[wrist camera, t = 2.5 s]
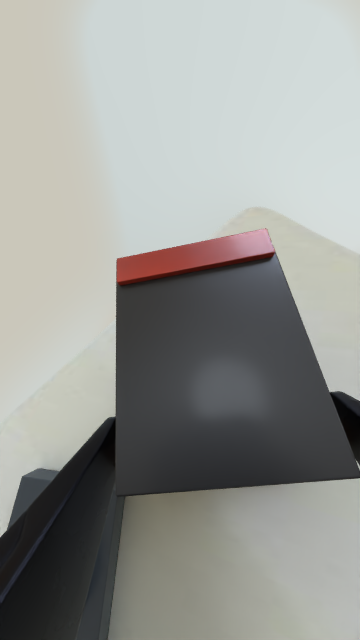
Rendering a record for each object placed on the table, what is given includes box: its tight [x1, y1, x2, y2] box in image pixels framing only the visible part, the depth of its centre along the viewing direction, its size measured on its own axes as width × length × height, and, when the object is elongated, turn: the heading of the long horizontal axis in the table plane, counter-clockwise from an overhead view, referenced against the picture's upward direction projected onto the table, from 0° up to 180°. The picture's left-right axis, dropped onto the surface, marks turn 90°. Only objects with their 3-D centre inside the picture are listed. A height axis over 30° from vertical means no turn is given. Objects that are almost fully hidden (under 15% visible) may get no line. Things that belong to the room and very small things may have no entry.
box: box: [115, 228, 360, 497], centre depth 11 cm, size 7×6×12 cm
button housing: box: [7, 469, 125, 640], centre depth 13 cm, size 11×9×4 cm
